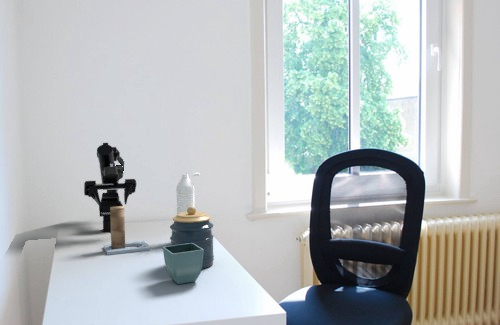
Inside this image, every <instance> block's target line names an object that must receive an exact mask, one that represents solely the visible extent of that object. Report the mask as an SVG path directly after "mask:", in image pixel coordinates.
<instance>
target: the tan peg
mask: <svg viewBox="0 0 500 325" xmlns="http://www.w3.org/2000/svg"><path fill="white" fill-rule="evenodd" d="M110 217H111V232H110V244H111V250H113V249H122V248H126V247H125V243H126V230H125V229H126V225H125V224H126V223H125V222H126V221H125V206H116V207H110Z"/></svg>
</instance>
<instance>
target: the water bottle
mask: <svg viewBox="0 0 500 325" xmlns="http://www.w3.org/2000/svg"><path fill="white" fill-rule="evenodd" d="M199 176H201V172H193V176H192V177H199ZM195 191H196V190H195V185H194V183H193V182H192V180H191V179H190V177H189V173H181V178H180V180H179V182H178V183H177V185H176V215H177V214H179V213H184V212H187V209H188V207H190V206H193V207H195V206H196V203H195V200H196V199H195V196H196V195H195Z"/></svg>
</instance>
